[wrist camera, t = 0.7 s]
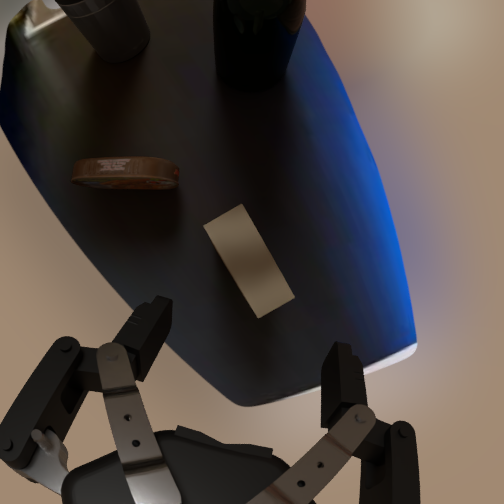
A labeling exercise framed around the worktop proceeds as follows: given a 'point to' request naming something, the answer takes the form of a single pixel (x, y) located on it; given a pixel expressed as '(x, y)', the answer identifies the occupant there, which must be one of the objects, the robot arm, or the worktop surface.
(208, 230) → the birch slab
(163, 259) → the worktop surface
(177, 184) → the tin
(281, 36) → the dark wine bottle
